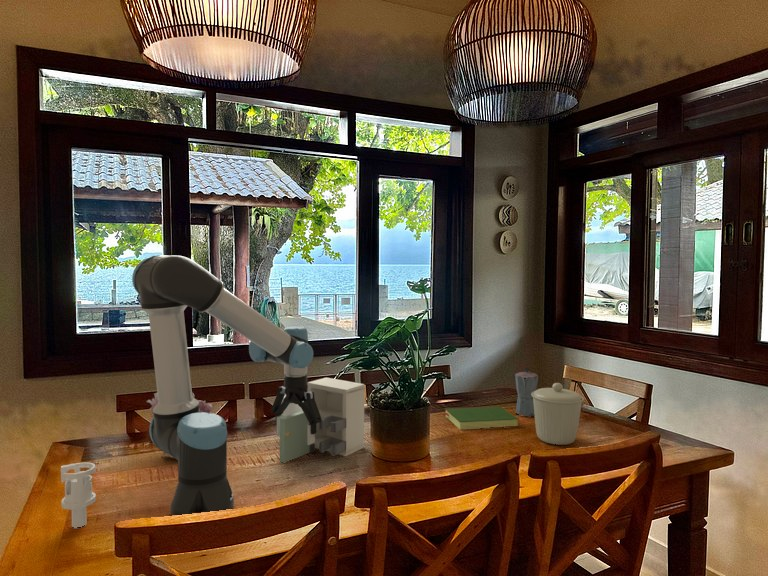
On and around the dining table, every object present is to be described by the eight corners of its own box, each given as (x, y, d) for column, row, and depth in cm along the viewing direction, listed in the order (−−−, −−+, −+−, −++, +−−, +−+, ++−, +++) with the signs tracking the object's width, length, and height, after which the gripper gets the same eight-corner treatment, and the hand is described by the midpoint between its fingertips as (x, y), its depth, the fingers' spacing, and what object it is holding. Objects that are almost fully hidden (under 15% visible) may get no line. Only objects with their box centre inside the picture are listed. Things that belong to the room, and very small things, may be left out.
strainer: (60, 522, 124) (59, 461, 124) (94, 515, 128) (93, 455, 128) (62, 535, 118) (61, 471, 118) (97, 527, 122) (97, 464, 122)
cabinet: (334, 462, 165) (334, 393, 164) (294, 450, 174) (295, 385, 173) (364, 447, 178) (364, 384, 177) (325, 437, 187) (326, 377, 186)
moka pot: (513, 418, 215) (514, 370, 214) (514, 408, 230) (516, 363, 229) (537, 420, 212) (538, 372, 211) (537, 410, 227) (538, 365, 226)
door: (286, 463, 163) (286, 419, 162) (277, 461, 165) (278, 417, 164) (317, 450, 175) (317, 409, 174) (309, 448, 177) (309, 407, 176)
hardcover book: (498, 414, 222) (498, 405, 222) (518, 428, 203) (518, 418, 203) (442, 417, 217) (442, 408, 217) (457, 431, 198) (457, 421, 198)
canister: (519, 436, 192) (521, 380, 191) (555, 429, 200) (557, 375, 199) (556, 452, 176) (558, 391, 175) (593, 444, 184) (595, 386, 183)
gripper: (333, 377, 164) (332, 443, 165) (276, 367, 177) (276, 429, 178) (317, 382, 157) (316, 450, 158) (260, 371, 171) (259, 434, 172)
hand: (295, 439), depth 168 cm, fingers open, 13 cm apart
